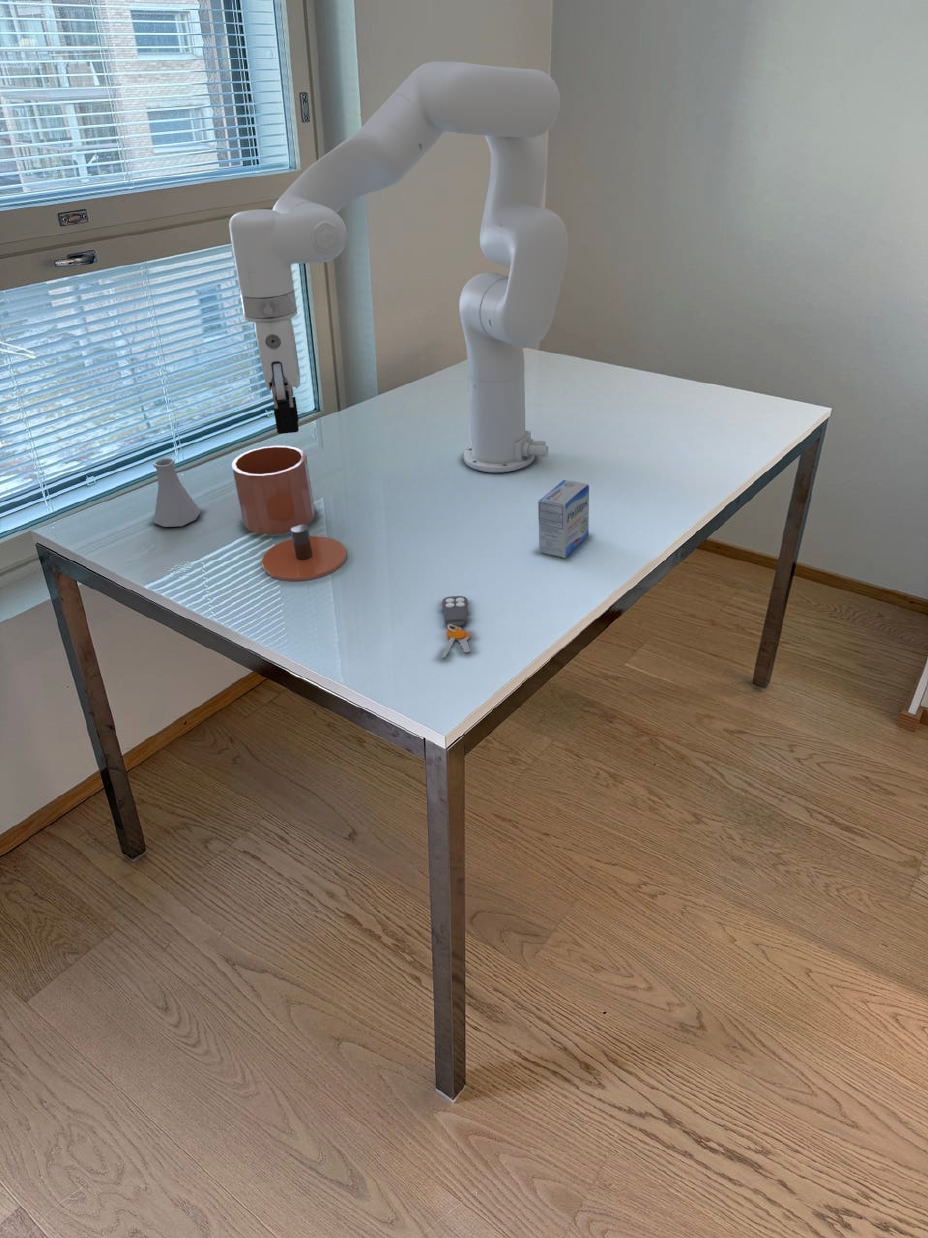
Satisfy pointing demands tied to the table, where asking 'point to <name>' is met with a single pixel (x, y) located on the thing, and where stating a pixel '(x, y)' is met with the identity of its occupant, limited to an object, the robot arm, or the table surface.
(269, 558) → the lid
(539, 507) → the medicine box
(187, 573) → the table surface
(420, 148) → the robot arm
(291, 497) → the canister
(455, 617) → the key chain
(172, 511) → the flask
